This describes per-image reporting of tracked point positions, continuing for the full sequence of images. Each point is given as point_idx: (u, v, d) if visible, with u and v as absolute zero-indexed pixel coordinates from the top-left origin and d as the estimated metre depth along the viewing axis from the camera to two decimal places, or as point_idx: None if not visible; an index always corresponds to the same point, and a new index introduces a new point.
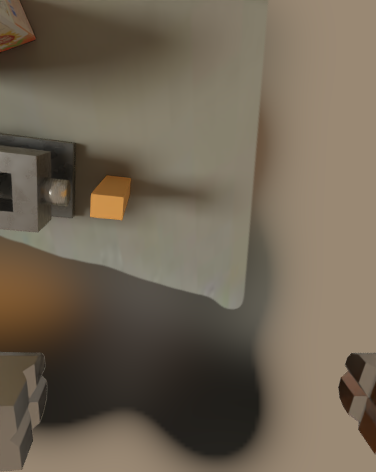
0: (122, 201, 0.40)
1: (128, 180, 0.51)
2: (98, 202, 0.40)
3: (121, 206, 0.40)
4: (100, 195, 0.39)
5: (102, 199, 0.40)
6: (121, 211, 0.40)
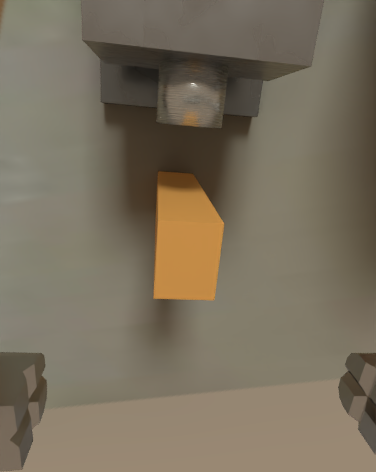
0: (203, 297, 0.16)
1: None
2: (200, 242, 0.15)
3: (190, 296, 0.16)
4: (218, 246, 0.15)
5: (208, 251, 0.15)
6: (177, 296, 0.15)
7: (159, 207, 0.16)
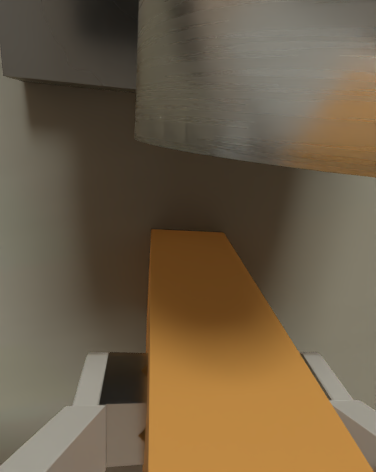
0: None
1: None
2: None
3: None
4: None
5: None
6: None
7: None
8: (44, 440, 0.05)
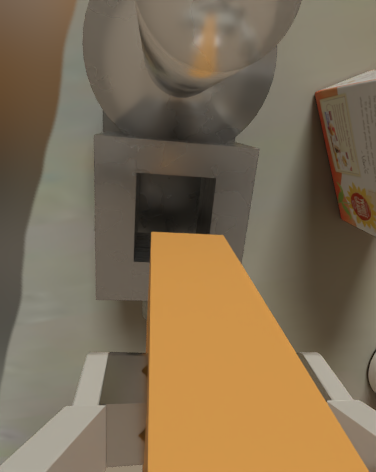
0: None
1: None
2: None
3: None
4: None
5: None
6: None
7: None
8: (44, 440, 0.05)
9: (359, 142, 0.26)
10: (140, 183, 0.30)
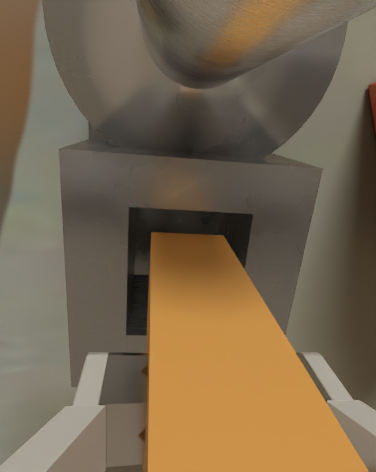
0: None
1: None
2: None
3: None
4: None
5: None
6: None
7: None
8: (44, 440, 0.05)
9: None
10: None
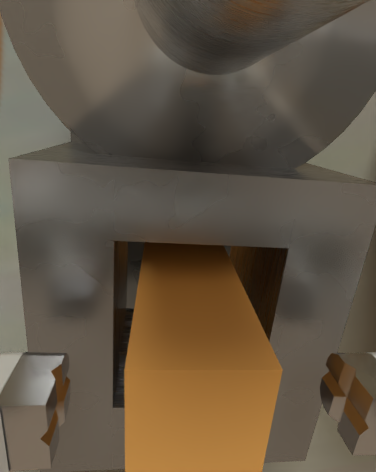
0: None
1: None
2: (226, 407, 0.06)
3: None
4: (268, 412, 0.07)
5: (243, 424, 0.07)
6: None
7: (137, 305, 0.08)
8: None
9: None
10: None
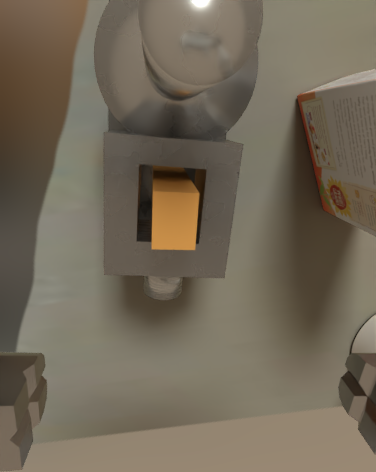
0: (187, 248, 0.22)
1: None
2: (183, 206, 0.21)
3: (177, 247, 0.22)
4: (196, 210, 0.21)
5: (189, 213, 0.21)
6: (168, 247, 0.22)
7: (154, 185, 0.22)
8: None
9: (333, 139, 0.30)
10: (141, 176, 0.34)
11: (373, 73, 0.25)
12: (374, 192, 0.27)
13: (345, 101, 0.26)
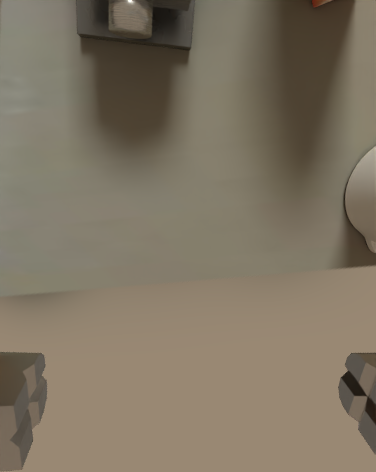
0: None
1: None
2: None
3: None
4: None
5: None
6: None
7: None
8: None
9: None
10: None
11: None
12: None
13: None
